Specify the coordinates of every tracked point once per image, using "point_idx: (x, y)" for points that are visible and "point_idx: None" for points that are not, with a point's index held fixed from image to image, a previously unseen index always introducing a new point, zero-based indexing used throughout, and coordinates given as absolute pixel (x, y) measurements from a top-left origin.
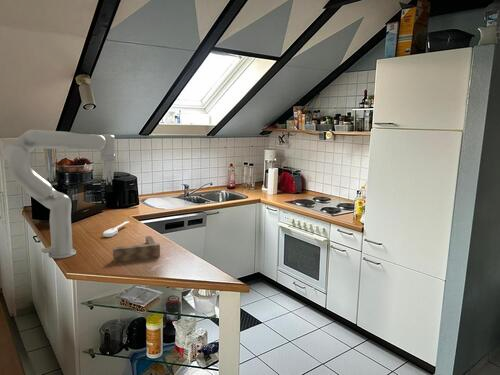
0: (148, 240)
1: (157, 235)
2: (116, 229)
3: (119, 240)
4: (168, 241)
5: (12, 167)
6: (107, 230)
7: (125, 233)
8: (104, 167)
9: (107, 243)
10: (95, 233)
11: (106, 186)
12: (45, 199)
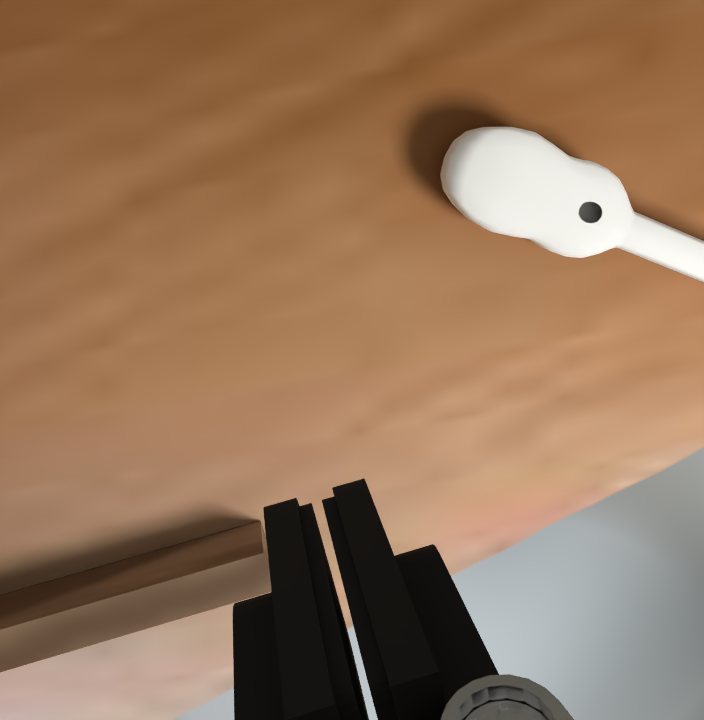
0: (139, 593)
1: None
2: (571, 250)
3: (342, 301)
4: None
5: None
6: (552, 164)
7: (548, 318)
8: None
9: (259, 206)
10: (615, 18)
11: (285, 666)
12: None
